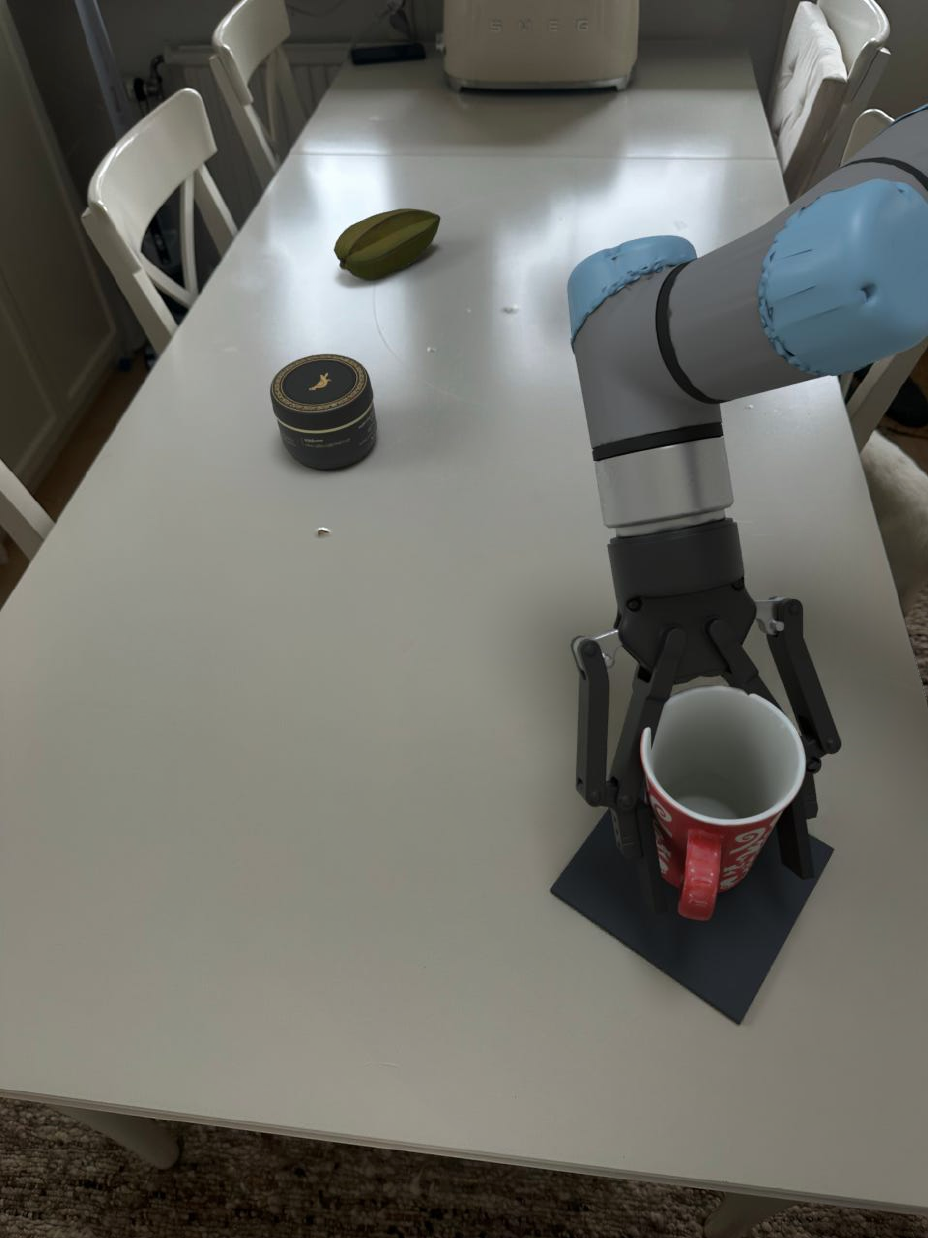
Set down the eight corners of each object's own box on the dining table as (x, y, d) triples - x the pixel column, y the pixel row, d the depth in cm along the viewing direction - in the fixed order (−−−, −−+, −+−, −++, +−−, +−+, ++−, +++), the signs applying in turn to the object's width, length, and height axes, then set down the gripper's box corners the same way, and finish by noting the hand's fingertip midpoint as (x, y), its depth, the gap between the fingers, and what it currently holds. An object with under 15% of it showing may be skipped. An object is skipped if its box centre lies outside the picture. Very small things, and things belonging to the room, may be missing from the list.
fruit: (355, 242, 116) (348, 193, 111) (443, 246, 114) (440, 195, 109) (334, 288, 109) (325, 237, 104) (428, 292, 107) (423, 241, 102)
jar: (384, 411, 93) (374, 349, 87) (376, 474, 86) (365, 412, 80) (292, 414, 93) (276, 352, 87) (277, 476, 87) (259, 414, 81)
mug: (646, 768, 63) (658, 668, 52) (774, 800, 61) (815, 702, 50) (604, 937, 57) (609, 862, 46) (747, 981, 54) (787, 913, 43)
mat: (832, 852, 60) (834, 848, 59) (738, 1025, 53) (740, 1023, 52) (654, 747, 65) (655, 743, 65) (549, 892, 59) (550, 888, 58)
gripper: (807, 494, 55) (854, 829, 58) (482, 556, 53) (545, 901, 56) (876, 487, 48) (926, 872, 50) (501, 559, 46) (573, 956, 48)
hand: (726, 887), depth 53 cm, fingers closed on mug, 9 cm apart
